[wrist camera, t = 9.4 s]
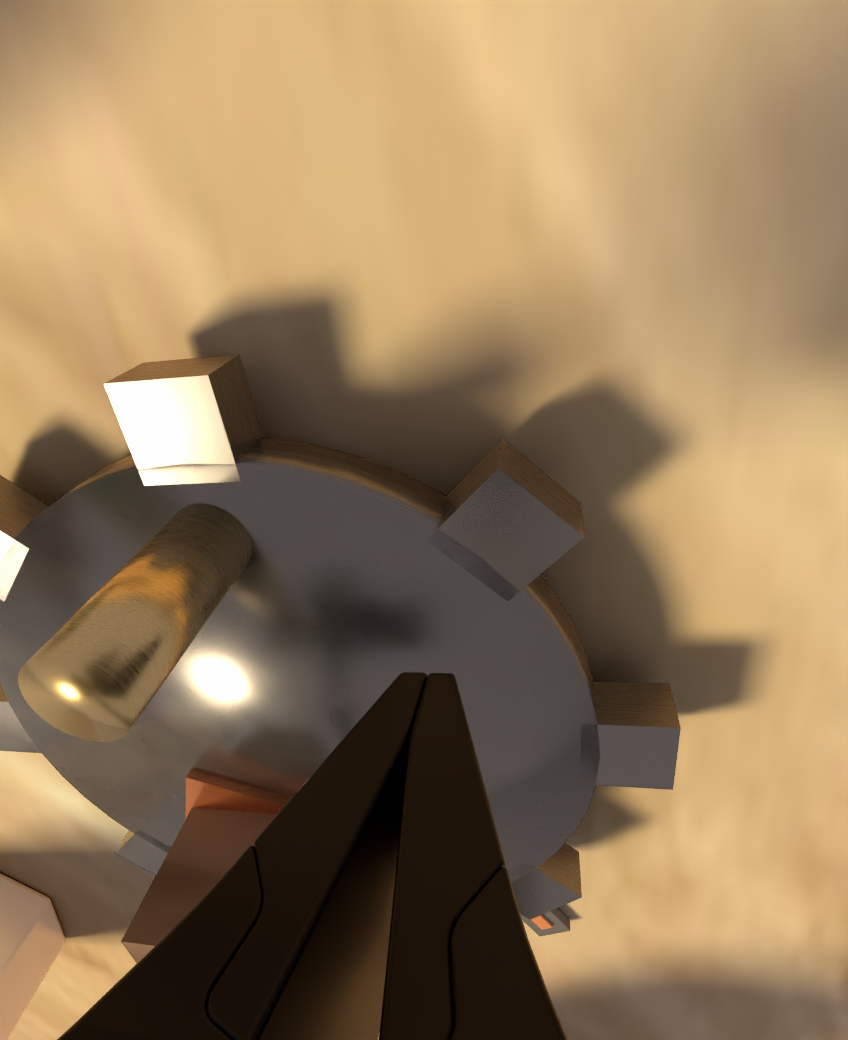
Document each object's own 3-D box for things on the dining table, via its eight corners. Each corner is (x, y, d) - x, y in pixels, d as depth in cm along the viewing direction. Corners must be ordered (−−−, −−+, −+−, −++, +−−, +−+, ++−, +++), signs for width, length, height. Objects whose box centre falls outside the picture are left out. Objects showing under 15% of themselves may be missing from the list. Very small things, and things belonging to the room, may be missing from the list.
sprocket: (644, 921, 22) (679, 1172, 17) (122, 869, 27) (15, 1055, 21) (708, 313, 11) (865, 457, 6) (-187, 391, 16) (-571, 518, 10)
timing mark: (569, 919, 24) (570, 933, 24) (539, 925, 25) (539, 938, 25) (521, 871, 23) (521, 885, 23) (491, 879, 24) (490, 892, 23)
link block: (332, 887, 21) (291, 1032, 18) (226, 877, 22) (168, 1013, 18) (306, 816, 19) (255, 963, 16) (192, 807, 20) (118, 946, 16)
